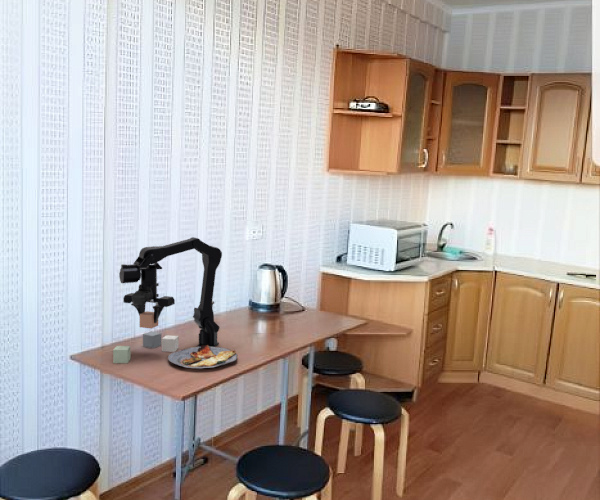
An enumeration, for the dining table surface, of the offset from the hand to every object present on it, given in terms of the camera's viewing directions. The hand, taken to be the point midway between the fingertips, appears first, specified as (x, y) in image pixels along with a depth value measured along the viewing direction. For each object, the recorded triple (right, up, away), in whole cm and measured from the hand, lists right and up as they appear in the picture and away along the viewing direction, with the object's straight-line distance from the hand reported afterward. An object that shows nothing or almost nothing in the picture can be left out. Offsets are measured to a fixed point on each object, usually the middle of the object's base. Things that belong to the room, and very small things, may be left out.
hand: (149, 322), depth 233 cm
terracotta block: (0, -2, 0) cm, 2 cm away
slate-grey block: (-2, -11, +11) cm, 16 cm away
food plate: (+21, -14, -6) cm, 26 cm away
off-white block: (+7, -12, +7) cm, 15 cm away
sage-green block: (-8, -13, -9) cm, 18 cm away
